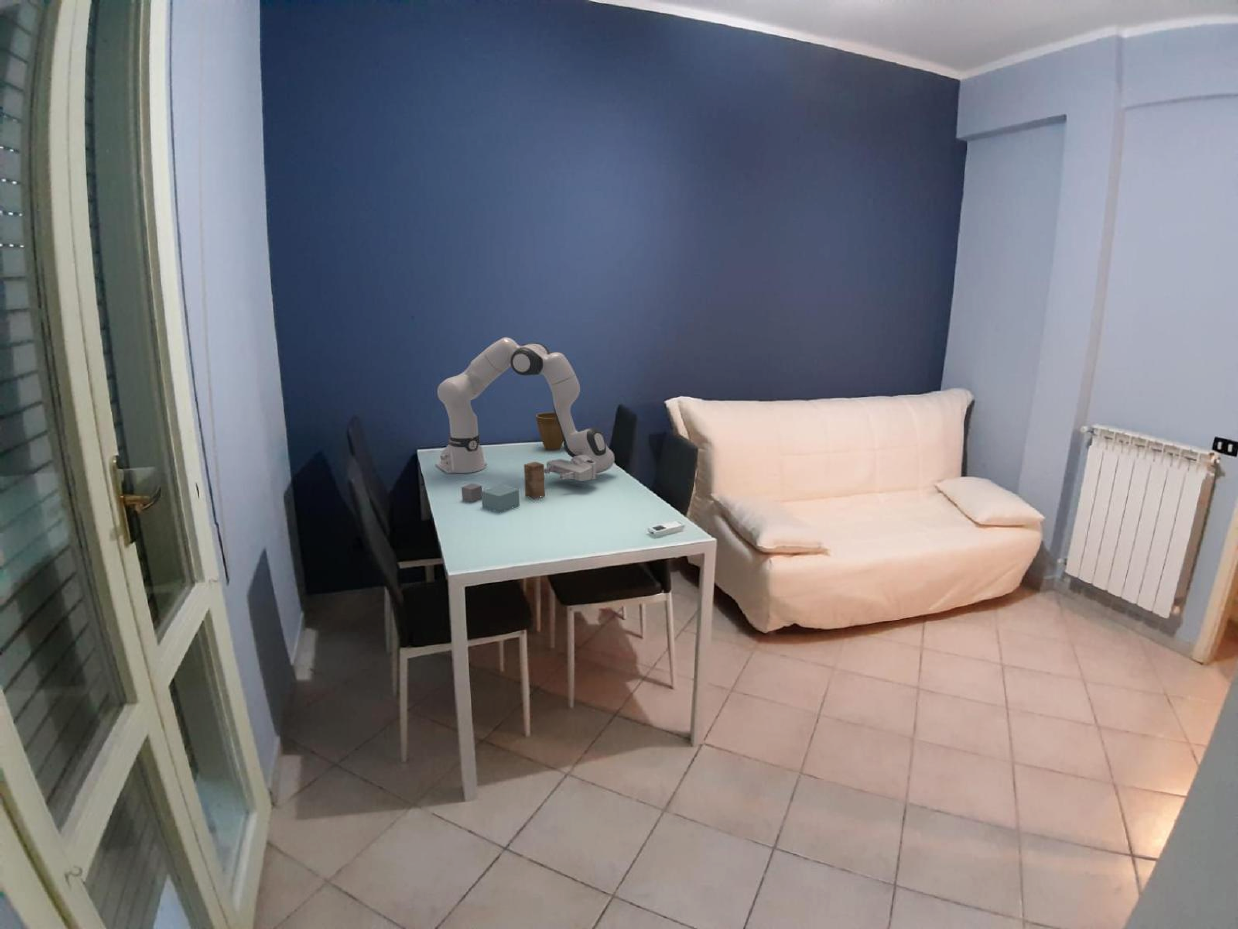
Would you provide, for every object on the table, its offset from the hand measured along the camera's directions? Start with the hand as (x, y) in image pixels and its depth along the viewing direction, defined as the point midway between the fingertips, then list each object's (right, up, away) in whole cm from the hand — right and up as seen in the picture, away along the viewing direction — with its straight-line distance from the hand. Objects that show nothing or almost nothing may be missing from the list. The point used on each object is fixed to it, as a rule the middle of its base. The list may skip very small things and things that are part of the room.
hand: (553, 474), depth 226 cm
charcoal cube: (-28, -9, -8) cm, 30 cm away
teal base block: (-16, -11, -15) cm, 25 cm away
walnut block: (-6, -8, -4) cm, 11 cm away
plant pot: (-7, +11, +62) cm, 63 cm away
